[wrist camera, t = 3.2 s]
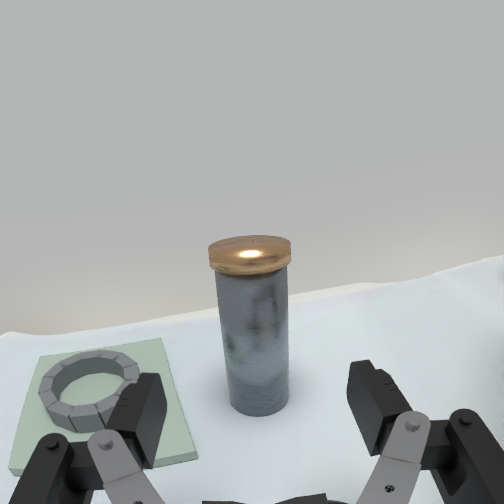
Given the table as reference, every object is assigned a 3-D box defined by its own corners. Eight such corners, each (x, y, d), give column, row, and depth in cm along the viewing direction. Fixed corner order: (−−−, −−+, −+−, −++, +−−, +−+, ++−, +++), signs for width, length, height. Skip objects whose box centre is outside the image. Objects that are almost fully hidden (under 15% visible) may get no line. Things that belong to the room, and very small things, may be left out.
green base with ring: (162, 344, 35) (157, 322, 34) (198, 458, 19) (190, 434, 18) (42, 363, 30) (34, 342, 29) (14, 475, 13) (-5, 452, 13)
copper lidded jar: (274, 371, 29) (269, 232, 26) (303, 405, 24) (306, 247, 21) (219, 387, 27) (200, 242, 24) (240, 426, 22) (221, 261, 19)
